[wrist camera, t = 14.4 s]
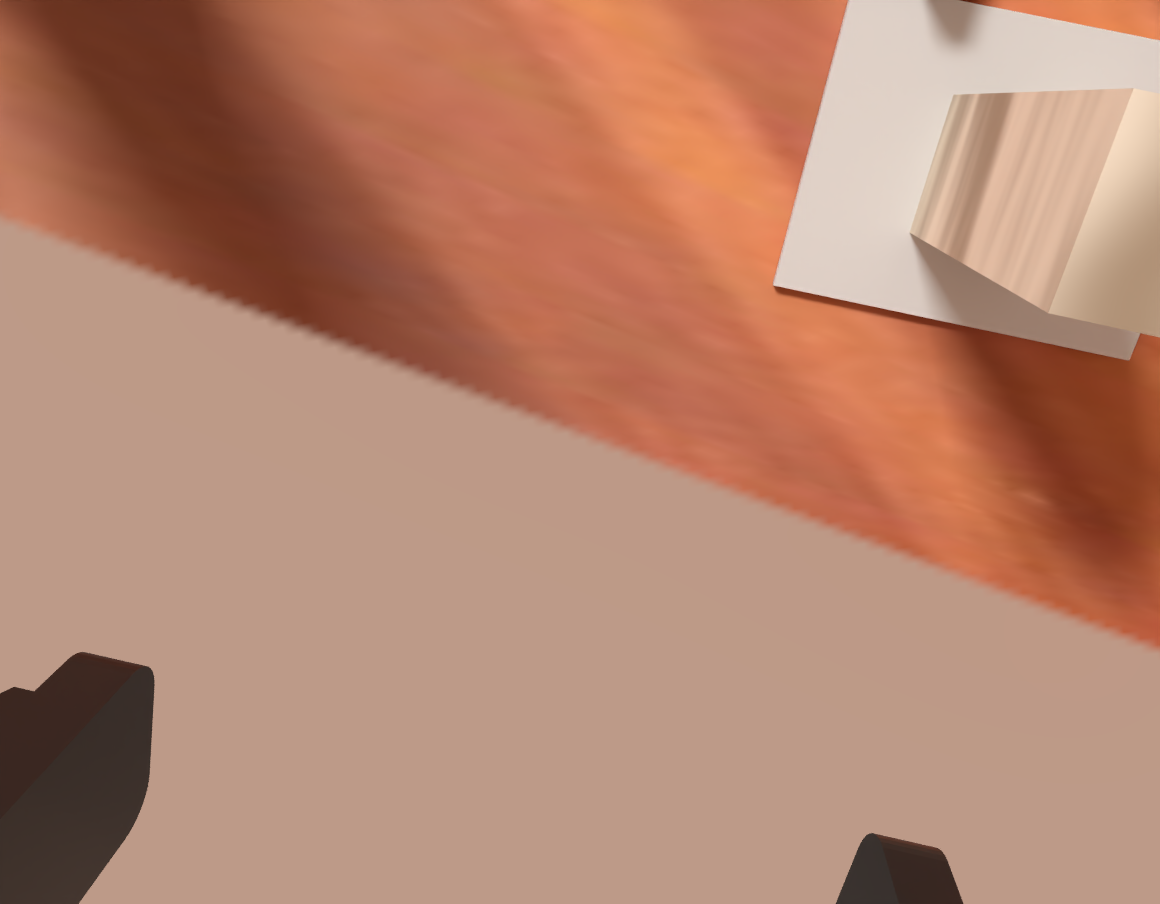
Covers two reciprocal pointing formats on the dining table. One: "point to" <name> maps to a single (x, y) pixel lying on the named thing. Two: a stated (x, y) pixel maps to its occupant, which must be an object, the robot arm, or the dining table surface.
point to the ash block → (1054, 200)
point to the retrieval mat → (907, 146)
